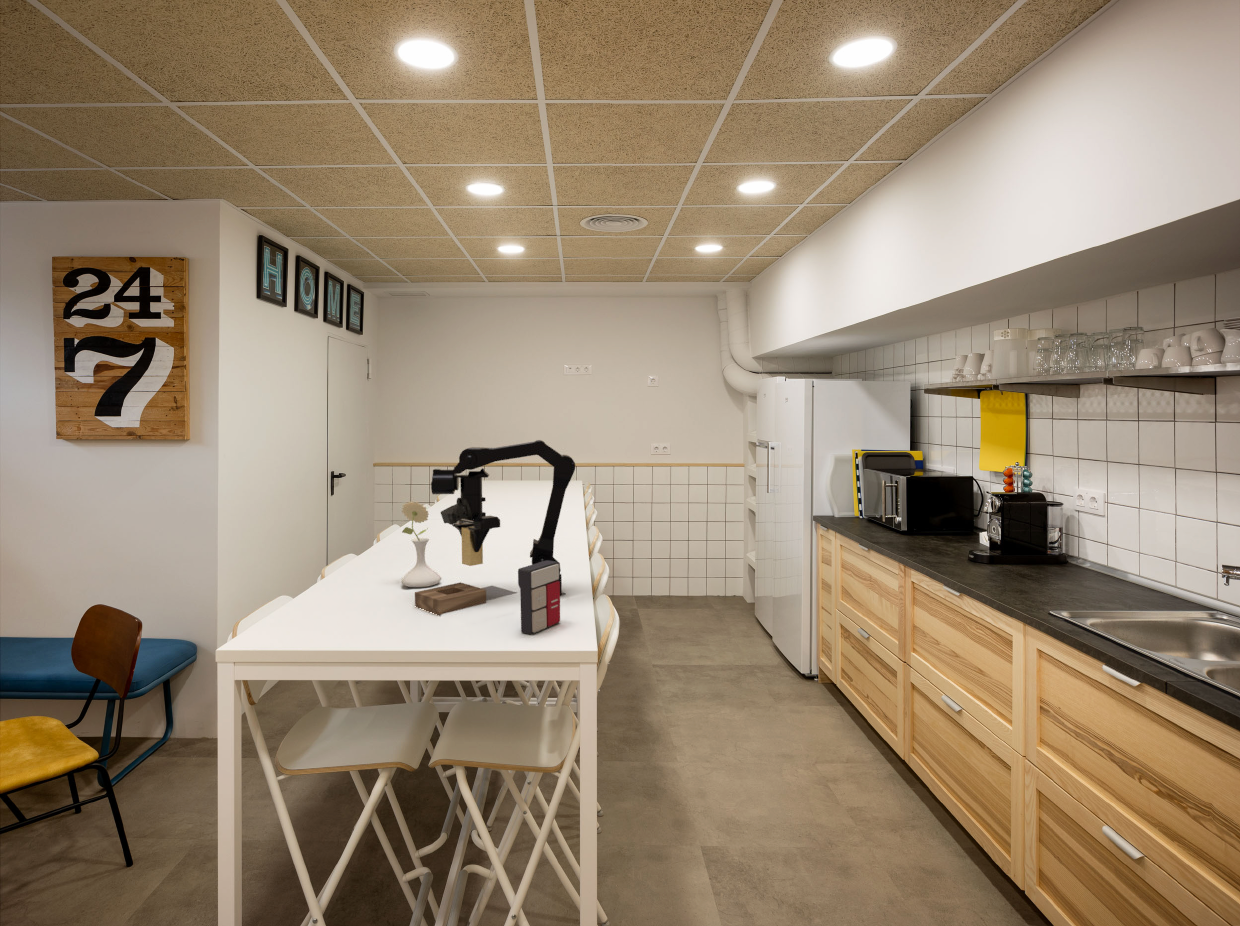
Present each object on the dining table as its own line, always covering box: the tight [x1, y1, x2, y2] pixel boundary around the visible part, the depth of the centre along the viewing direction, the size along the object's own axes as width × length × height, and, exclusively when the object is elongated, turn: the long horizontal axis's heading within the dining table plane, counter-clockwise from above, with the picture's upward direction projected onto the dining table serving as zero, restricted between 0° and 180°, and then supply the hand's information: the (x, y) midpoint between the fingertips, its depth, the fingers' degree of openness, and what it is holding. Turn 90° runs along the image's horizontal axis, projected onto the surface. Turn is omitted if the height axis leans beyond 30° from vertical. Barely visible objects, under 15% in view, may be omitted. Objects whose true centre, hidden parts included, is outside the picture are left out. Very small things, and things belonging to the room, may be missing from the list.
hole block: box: [414, 582, 487, 616], centre depth 181 cm, size 12×14×4 cm
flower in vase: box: [400, 501, 442, 588], centre depth 202 cm, size 13×11×25 cm
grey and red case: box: [517, 560, 561, 635], centre depth 161 cm, size 11×4×15 cm, turn 148°
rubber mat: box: [481, 585, 518, 602], centre depth 192 cm, size 12×12×1 cm
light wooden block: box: [461, 526, 484, 567], centre depth 187 cm, size 4×4×10 cm
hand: (472, 550), depth 187 cm, fingers closed on light wooden block, 4 cm apart
